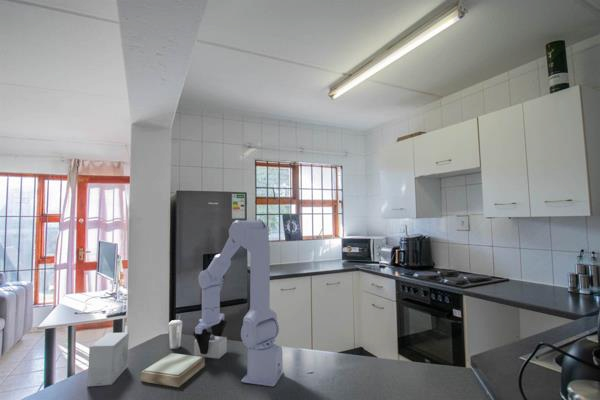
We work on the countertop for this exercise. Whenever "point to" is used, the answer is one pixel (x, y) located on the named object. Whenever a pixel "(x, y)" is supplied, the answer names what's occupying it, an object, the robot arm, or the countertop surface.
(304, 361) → the countertop surface
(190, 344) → the countertop surface
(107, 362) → the skincare box
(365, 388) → the countertop surface
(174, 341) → the milkshake
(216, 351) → the block
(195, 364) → the stand
